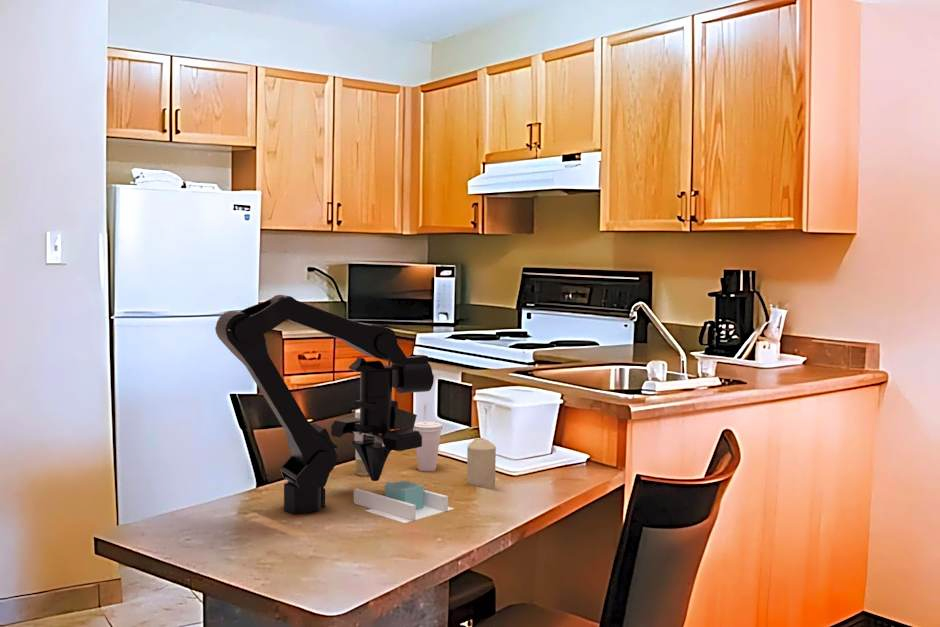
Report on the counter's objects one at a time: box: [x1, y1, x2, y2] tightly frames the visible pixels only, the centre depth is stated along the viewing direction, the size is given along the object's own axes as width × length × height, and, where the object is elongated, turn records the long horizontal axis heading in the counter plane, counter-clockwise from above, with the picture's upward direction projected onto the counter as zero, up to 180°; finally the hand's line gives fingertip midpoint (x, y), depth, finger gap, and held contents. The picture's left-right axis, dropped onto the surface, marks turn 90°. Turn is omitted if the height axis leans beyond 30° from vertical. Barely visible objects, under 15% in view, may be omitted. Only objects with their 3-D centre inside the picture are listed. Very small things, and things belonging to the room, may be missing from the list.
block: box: [384, 480, 425, 510], centre depth 160 cm, size 4×5×4 cm
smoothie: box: [413, 403, 443, 472], centre depth 194 cm, size 6×6×14 cm
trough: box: [353, 480, 455, 524], centre depth 161 cm, size 12×15×4 cm
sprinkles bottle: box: [354, 408, 371, 477], centre depth 190 cm, size 5×5×13 cm
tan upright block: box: [466, 437, 497, 492], centre depth 179 cm, size 6×6×10 cm
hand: (375, 480), depth 165 cm, fingers closed
